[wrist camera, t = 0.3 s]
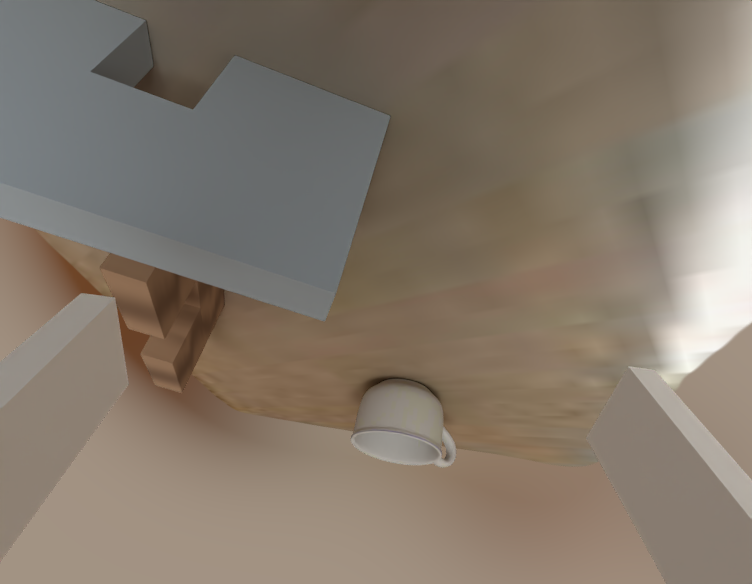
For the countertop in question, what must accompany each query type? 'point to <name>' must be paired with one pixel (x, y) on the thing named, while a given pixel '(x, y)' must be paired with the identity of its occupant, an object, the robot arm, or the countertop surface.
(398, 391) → the teacup
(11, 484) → the robot arm
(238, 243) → the slate plate
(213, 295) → the walnut board
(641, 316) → the countertop surface
